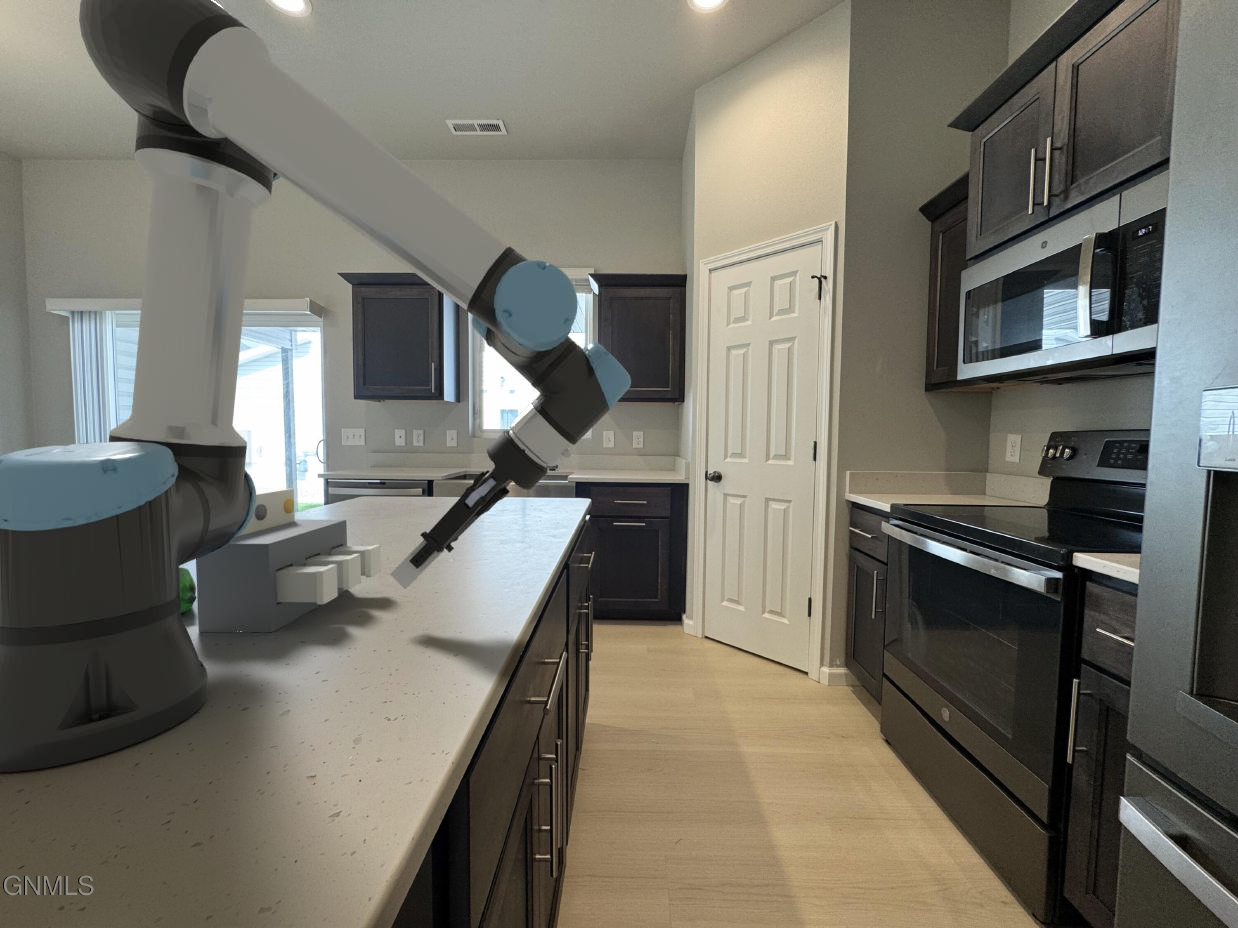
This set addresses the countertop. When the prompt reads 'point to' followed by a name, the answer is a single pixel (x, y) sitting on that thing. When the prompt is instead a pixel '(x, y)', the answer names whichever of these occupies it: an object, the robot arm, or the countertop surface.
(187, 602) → the snack package
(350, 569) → the button middle
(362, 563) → the button far
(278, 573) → the button near
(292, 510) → the pattern sign
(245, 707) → the countertop surface
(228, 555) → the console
